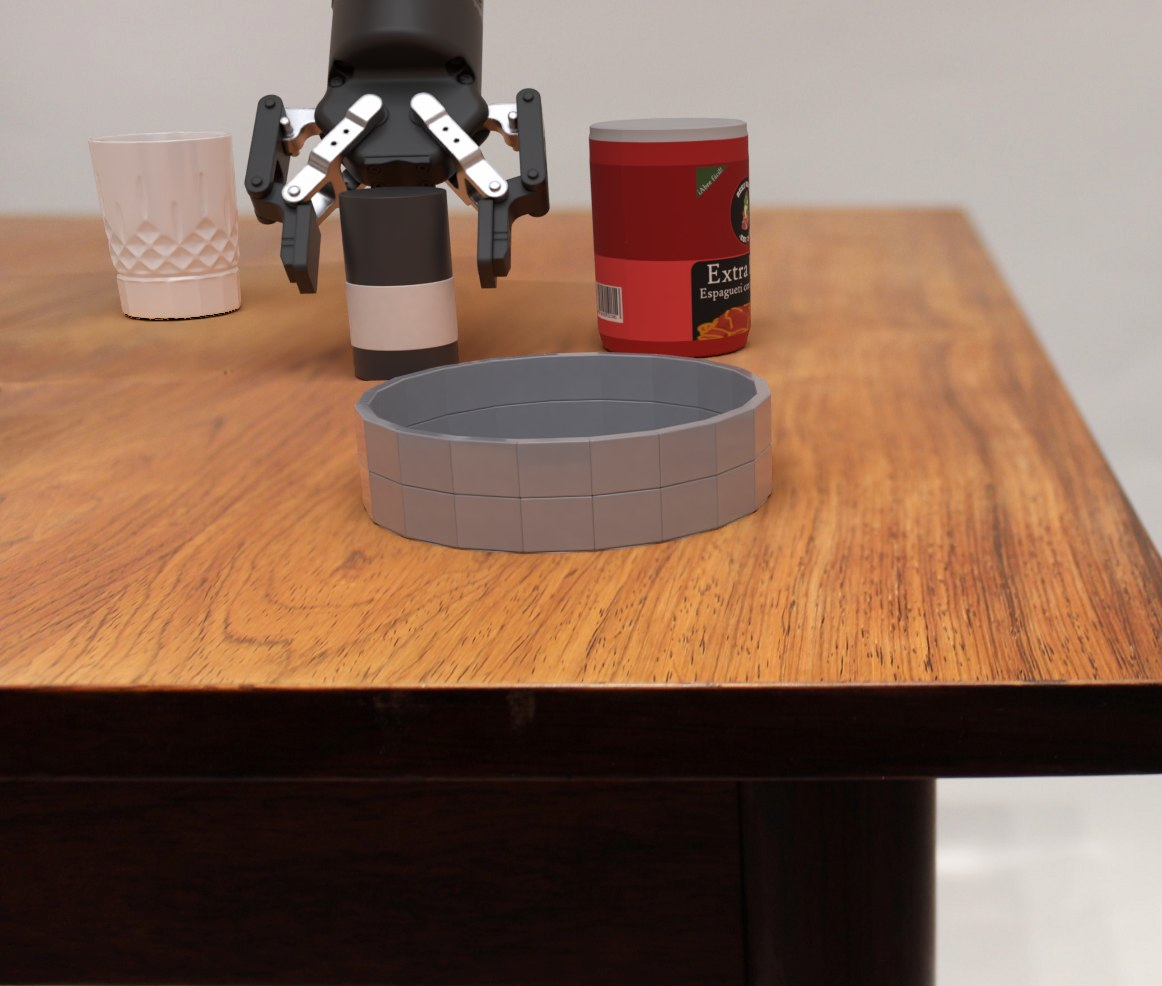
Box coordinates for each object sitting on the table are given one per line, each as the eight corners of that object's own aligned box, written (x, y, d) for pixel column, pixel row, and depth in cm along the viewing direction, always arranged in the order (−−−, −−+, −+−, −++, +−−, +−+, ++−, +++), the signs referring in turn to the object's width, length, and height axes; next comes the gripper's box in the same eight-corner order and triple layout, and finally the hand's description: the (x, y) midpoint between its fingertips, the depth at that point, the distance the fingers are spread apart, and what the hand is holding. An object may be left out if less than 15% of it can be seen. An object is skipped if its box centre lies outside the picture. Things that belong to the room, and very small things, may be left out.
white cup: (244, 318, 96) (223, 138, 93) (101, 325, 95) (75, 143, 92) (257, 297, 103) (238, 129, 100) (125, 303, 102) (101, 133, 99)
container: (345, 384, 79) (327, 198, 76) (363, 362, 83) (346, 187, 80) (454, 381, 79) (440, 196, 76) (465, 359, 83) (453, 184, 81)
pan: (333, 574, 52) (320, 448, 50) (398, 459, 65) (389, 357, 64) (784, 560, 52) (783, 435, 51) (758, 449, 65) (757, 347, 64)
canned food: (724, 363, 81) (719, 128, 78) (573, 356, 84) (561, 128, 80) (771, 334, 88) (768, 117, 84) (630, 328, 91) (621, 117, 87)
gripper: (554, 69, 89) (554, 324, 82) (283, 75, 88) (260, 332, 81) (542, -41, 82) (541, 226, 75) (249, -35, 81) (220, 234, 74)
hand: (395, 281), depth 78 cm, fingers open, 8 cm apart
